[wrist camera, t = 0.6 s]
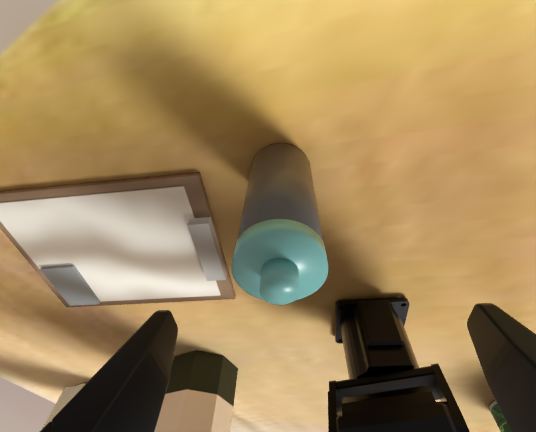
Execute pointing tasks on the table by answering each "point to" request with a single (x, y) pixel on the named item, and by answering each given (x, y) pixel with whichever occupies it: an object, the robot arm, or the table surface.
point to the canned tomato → (499, 417)
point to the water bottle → (280, 229)
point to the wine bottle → (198, 394)
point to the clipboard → (120, 240)
